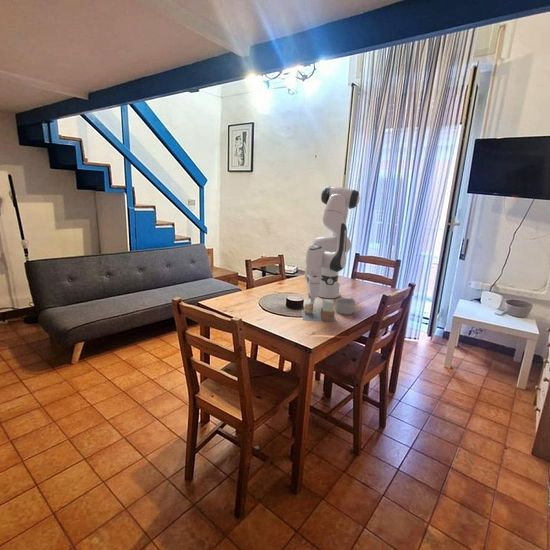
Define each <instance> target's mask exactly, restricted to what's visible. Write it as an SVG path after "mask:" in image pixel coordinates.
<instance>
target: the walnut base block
mask: <svg viewBox="0 0 550 550" xmlns="http://www.w3.org/2000/svg"><path fill="white" fill-rule="evenodd" d="M320 312H321V316H320V317H321V319H322V321H334V316H335V311H334V310H333V312H324V311H323V308H322V307H320Z"/></svg>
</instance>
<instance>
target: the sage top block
mask: <svg viewBox="0 0 550 550" xmlns="http://www.w3.org/2000/svg"><path fill="white" fill-rule="evenodd" d="M334 307H335V302H334V299H329V298H323V299H322V307H321V308H323V311H324V312H333V311H334V309H335V308H334Z"/></svg>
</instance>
